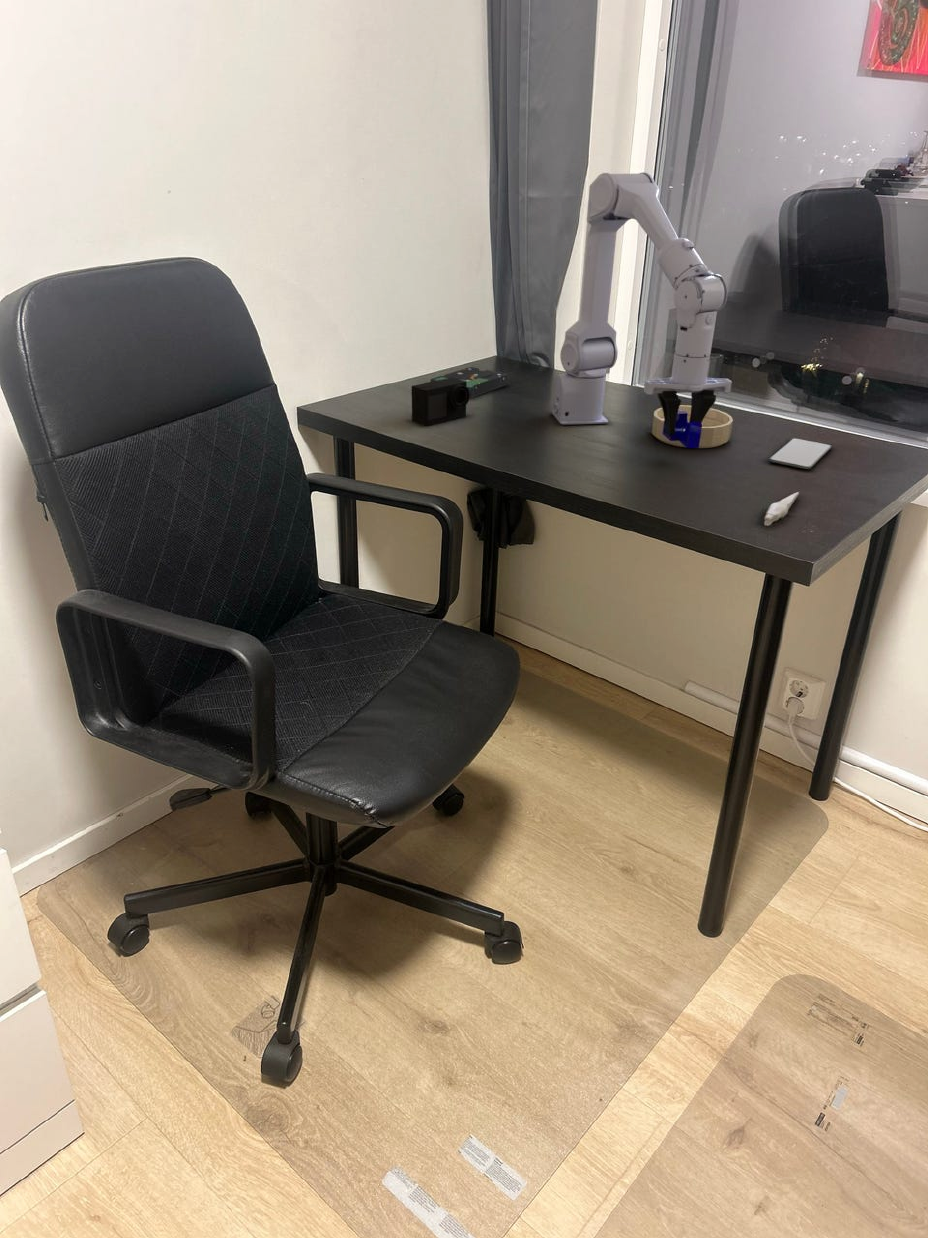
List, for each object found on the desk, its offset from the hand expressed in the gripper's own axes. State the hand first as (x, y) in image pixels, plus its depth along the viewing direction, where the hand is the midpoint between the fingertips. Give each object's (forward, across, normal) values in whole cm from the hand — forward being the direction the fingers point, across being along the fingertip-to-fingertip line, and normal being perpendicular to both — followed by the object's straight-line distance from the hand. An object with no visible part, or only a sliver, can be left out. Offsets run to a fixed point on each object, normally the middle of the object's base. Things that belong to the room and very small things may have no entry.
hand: (680, 434), depth 151 cm
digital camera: (+5, -38, +27) cm, 47 cm away
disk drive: (+5, -29, +49) cm, 57 cm away
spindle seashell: (+5, +8, -24) cm, 26 cm away
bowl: (+4, +7, +12) cm, 15 cm away
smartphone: (+4, +23, 0) cm, 23 cm away
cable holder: (+1, 0, 0) cm, 1 cm away
